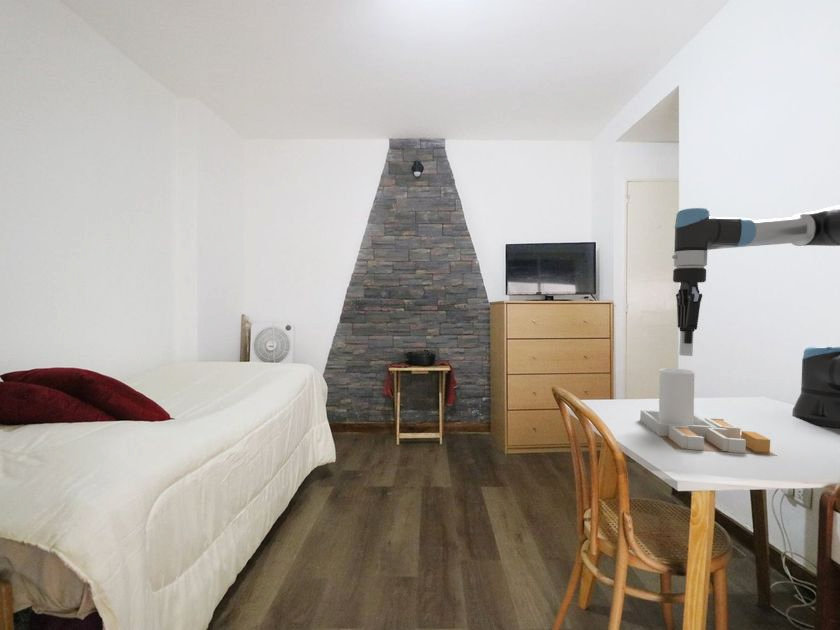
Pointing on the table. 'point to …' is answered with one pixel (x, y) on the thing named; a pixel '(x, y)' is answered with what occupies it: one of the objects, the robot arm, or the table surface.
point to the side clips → (693, 441)
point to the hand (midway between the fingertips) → (685, 355)
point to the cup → (676, 396)
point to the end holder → (663, 429)
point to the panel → (713, 447)
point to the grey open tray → (725, 440)
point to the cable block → (756, 441)
